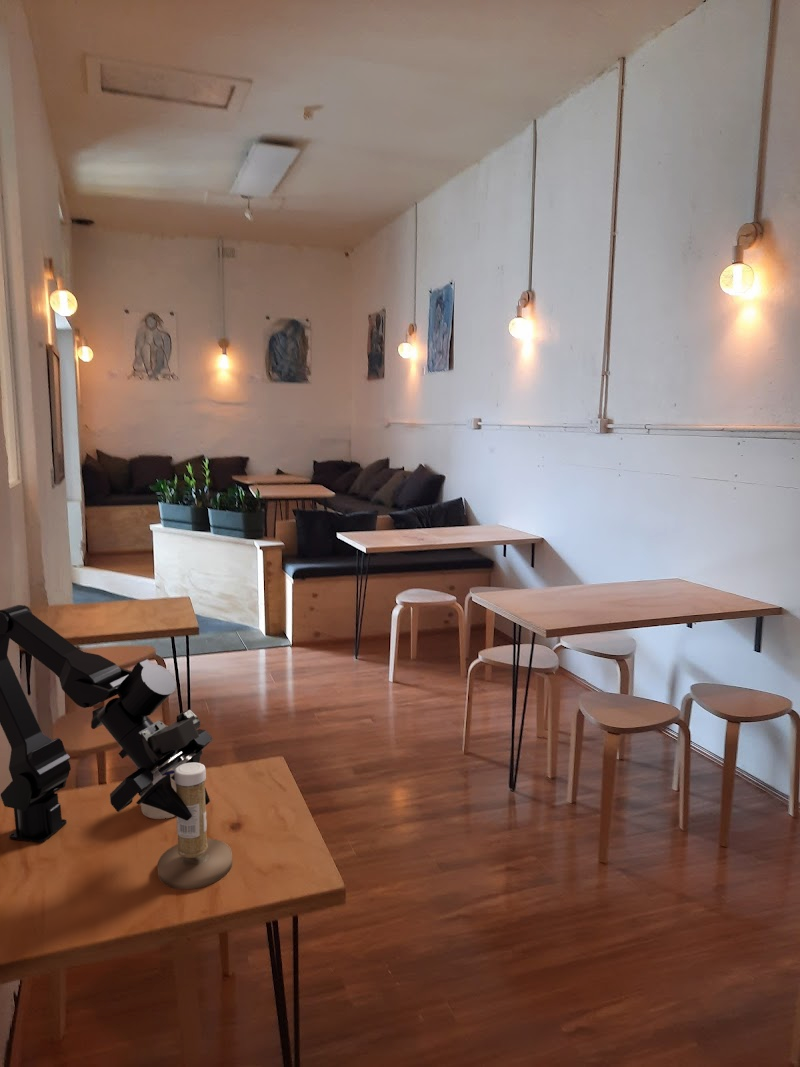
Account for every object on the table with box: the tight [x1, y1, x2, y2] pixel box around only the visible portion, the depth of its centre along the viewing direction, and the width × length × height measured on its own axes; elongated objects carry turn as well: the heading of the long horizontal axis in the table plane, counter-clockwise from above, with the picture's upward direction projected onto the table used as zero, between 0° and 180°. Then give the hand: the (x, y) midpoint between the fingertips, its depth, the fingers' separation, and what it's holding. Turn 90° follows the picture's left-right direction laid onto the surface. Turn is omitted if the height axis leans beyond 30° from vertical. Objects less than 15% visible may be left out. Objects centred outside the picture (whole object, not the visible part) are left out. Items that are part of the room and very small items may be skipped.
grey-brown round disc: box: [157, 837, 233, 890], centre depth 116 cm, size 11×11×2 cm
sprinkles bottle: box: [175, 762, 208, 858], centre depth 115 cm, size 5×5×14 cm
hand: (198, 810), depth 114 cm, fingers closed on sprinkles bottle, 4 cm apart
